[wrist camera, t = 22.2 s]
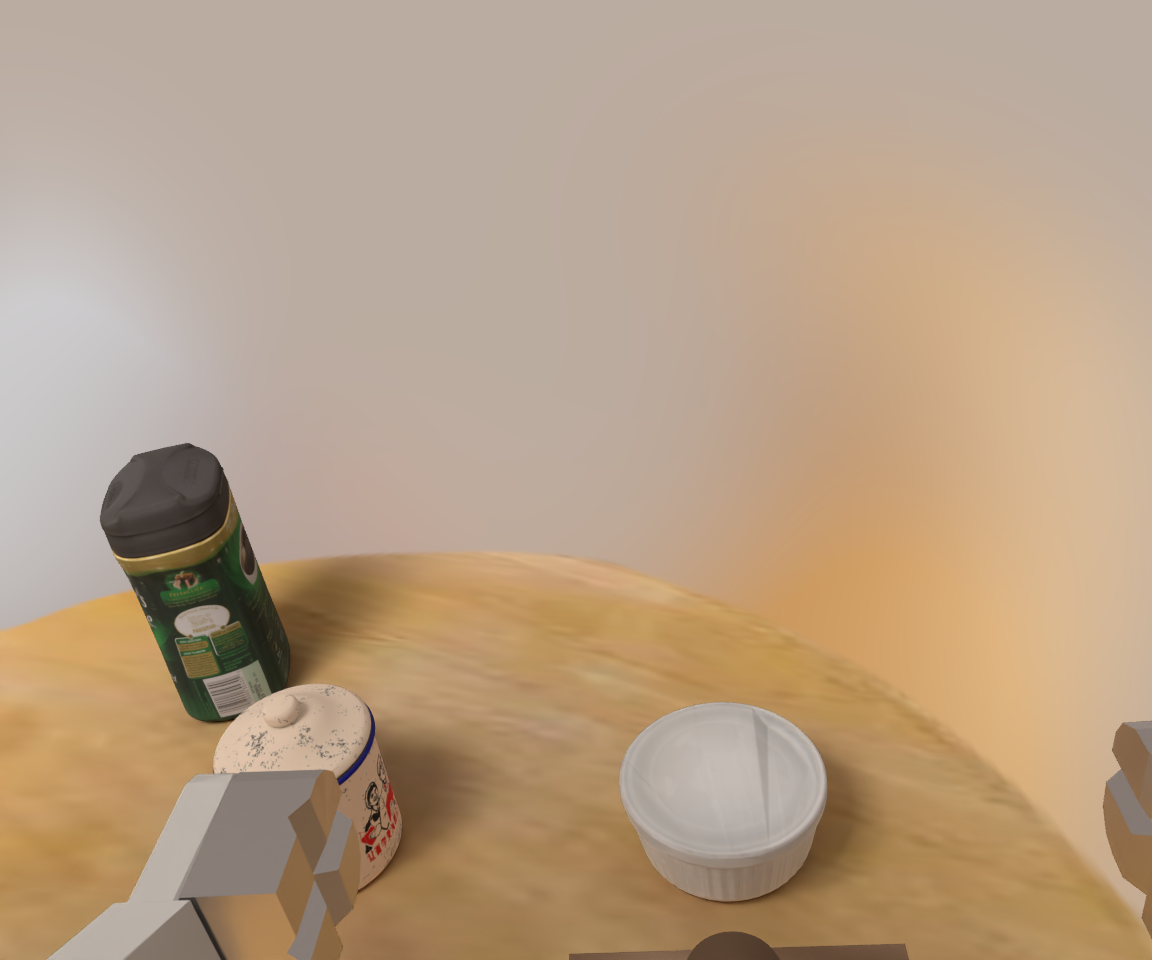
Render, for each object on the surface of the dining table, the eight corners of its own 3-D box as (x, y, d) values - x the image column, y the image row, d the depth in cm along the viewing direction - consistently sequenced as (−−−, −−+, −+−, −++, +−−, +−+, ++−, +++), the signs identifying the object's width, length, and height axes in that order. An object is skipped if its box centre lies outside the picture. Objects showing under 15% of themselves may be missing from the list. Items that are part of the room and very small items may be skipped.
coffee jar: (191, 655, 80) (102, 450, 70) (292, 628, 81) (218, 423, 72) (180, 740, 72) (78, 521, 62) (293, 709, 73) (210, 490, 63)
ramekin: (870, 858, 56) (871, 792, 54) (700, 960, 52) (692, 895, 50) (748, 736, 65) (744, 673, 62) (595, 815, 61) (584, 753, 59)
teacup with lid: (412, 887, 59) (362, 741, 53) (252, 929, 58) (183, 785, 52) (401, 740, 69) (359, 604, 63) (266, 773, 68) (209, 638, 62)
